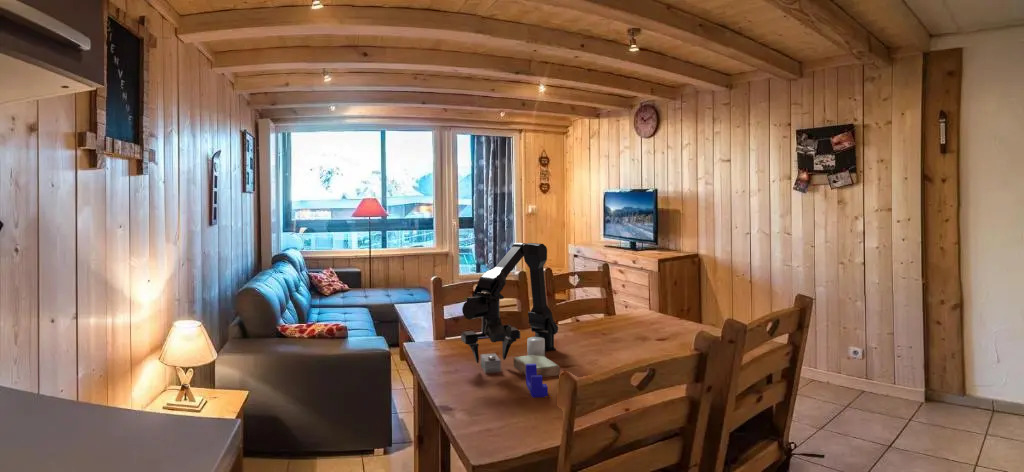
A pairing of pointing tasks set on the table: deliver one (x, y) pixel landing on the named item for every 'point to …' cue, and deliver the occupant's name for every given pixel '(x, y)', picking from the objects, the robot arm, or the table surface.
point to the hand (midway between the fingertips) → (491, 361)
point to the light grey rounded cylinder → (536, 346)
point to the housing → (490, 363)
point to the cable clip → (535, 382)
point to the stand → (537, 365)
